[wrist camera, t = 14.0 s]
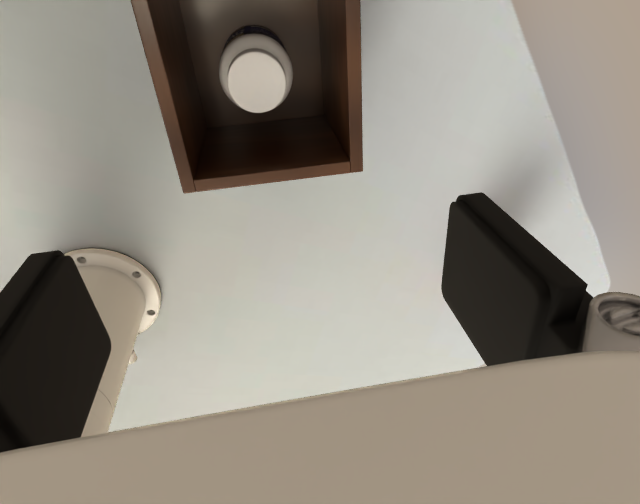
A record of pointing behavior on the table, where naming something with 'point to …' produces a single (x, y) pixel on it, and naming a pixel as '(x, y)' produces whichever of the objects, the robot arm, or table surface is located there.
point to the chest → (247, 127)
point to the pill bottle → (255, 69)
